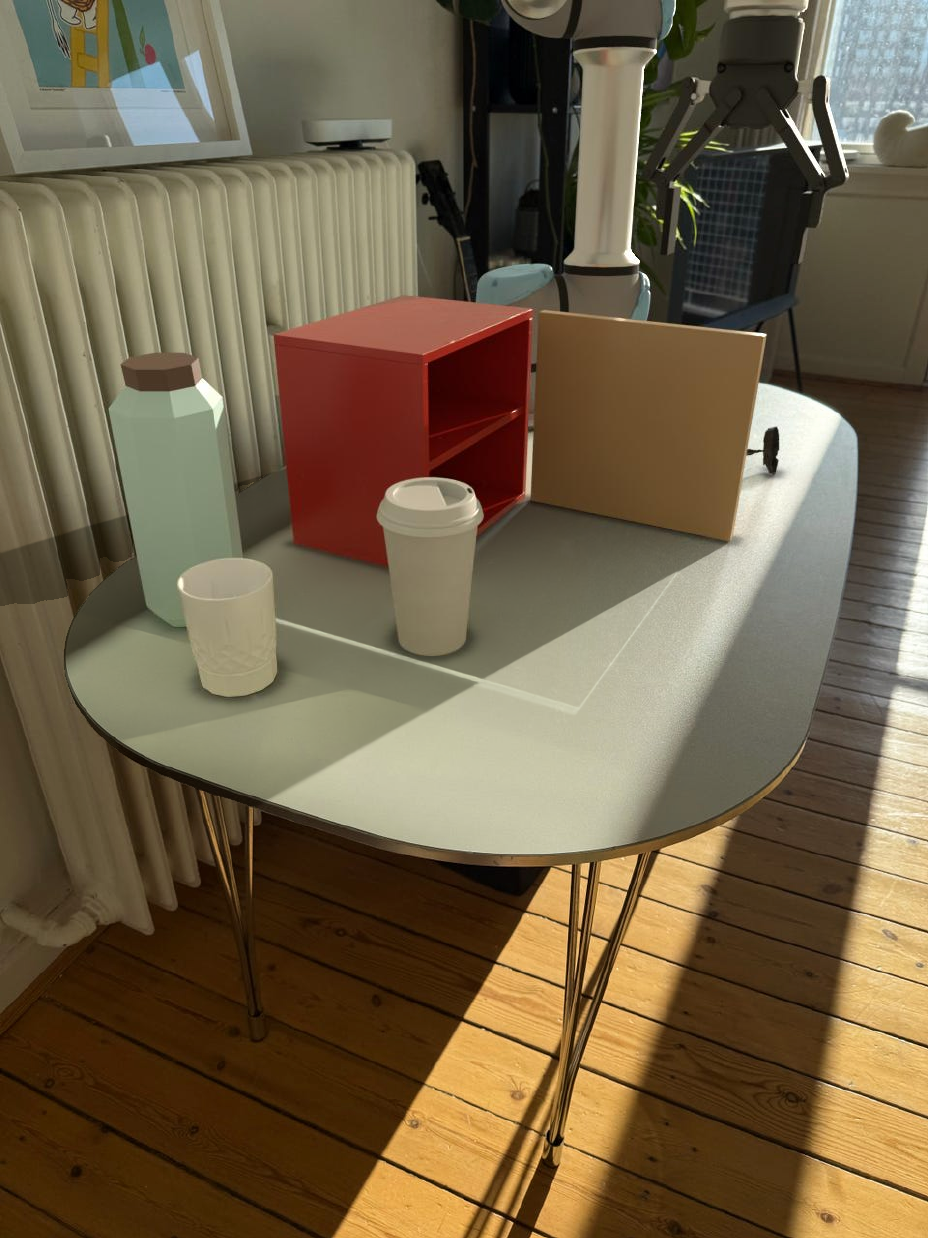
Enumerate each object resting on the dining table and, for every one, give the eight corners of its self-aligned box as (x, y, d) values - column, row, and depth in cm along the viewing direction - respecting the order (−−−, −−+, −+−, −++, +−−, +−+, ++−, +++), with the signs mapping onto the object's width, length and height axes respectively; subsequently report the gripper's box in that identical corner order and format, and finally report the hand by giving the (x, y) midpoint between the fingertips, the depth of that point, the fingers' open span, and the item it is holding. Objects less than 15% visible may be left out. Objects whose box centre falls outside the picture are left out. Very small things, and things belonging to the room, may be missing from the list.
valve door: (556, 480, 124) (566, 299, 112) (746, 516, 113) (780, 321, 101) (530, 500, 117) (538, 311, 105) (729, 541, 106) (763, 336, 94)
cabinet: (525, 498, 118) (533, 308, 106) (426, 577, 98) (422, 354, 86) (408, 474, 125) (403, 294, 113) (293, 544, 105) (273, 334, 93)
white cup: (176, 677, 81) (158, 578, 76) (249, 644, 86) (237, 549, 81) (227, 713, 76) (211, 609, 71) (301, 675, 81) (291, 576, 76)
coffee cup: (471, 670, 82) (472, 518, 74) (370, 659, 84) (361, 509, 76) (489, 619, 90) (492, 478, 83) (397, 610, 92) (392, 470, 84)
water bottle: (143, 595, 94) (96, 353, 82) (238, 578, 98) (207, 343, 85) (154, 640, 86) (104, 380, 74) (258, 620, 90) (227, 368, 77)
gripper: (911, 14, 82) (859, 261, 93) (647, 24, 92) (628, 246, 103) (904, 7, 77) (850, 271, 87) (623, 18, 87) (605, 253, 97)
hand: (730, 258), depth 95 cm, fingers open, 13 cm apart
